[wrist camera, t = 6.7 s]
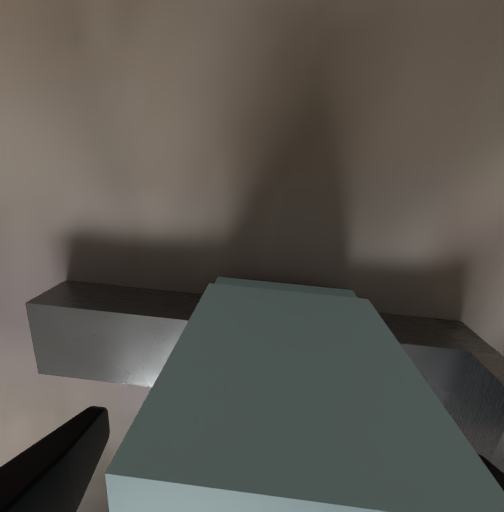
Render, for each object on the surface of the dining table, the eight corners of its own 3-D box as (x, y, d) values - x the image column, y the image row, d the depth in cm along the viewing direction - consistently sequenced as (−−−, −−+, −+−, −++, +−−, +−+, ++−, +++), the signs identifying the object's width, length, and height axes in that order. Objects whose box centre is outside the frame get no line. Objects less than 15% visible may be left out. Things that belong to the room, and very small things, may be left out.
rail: (461, 322, 11) (559, 403, 7) (439, 384, 12) (516, 485, 8) (65, 280, 12) (-34, 335, 8) (73, 342, 13) (-12, 418, 9)
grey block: (354, 280, 10) (531, 531, 3) (328, 409, 12) (404, 749, 5) (218, 266, 11) (105, 473, 3) (212, 395, 12) (131, 702, 5)
